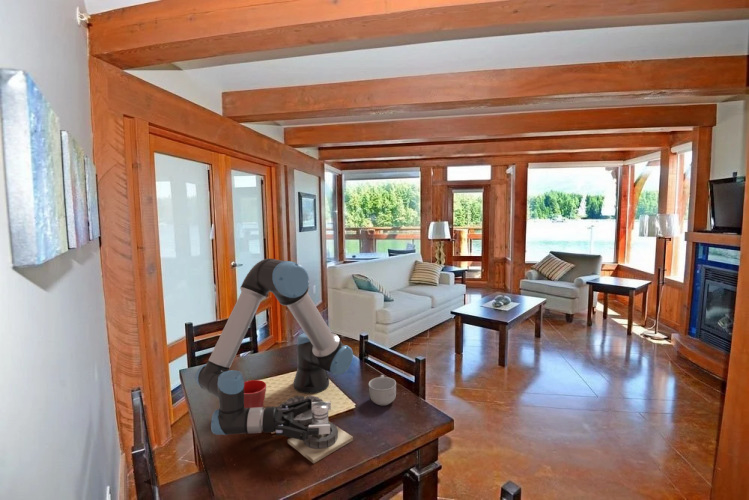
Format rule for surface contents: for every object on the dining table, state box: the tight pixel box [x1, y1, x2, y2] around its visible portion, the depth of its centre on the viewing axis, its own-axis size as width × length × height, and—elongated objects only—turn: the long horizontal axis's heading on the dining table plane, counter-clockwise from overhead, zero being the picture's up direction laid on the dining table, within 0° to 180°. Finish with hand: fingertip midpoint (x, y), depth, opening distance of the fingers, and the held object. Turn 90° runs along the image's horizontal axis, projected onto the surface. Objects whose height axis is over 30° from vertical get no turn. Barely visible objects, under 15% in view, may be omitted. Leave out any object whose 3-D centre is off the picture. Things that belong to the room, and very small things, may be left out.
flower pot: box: [244, 379, 267, 408], centre depth 139 cm, size 11×11×10 cm
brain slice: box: [276, 395, 325, 426], centre depth 138 cm, size 20×17×3 cm
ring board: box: [287, 420, 354, 464], centre depth 122 cm, size 14×16×4 cm
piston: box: [312, 401, 329, 438], centre depth 121 cm, size 5×5×11 cm
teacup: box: [368, 374, 397, 406], centre depth 149 cm, size 14×11×8 cm
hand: (330, 416), depth 121 cm, fingers open, 13 cm apart
